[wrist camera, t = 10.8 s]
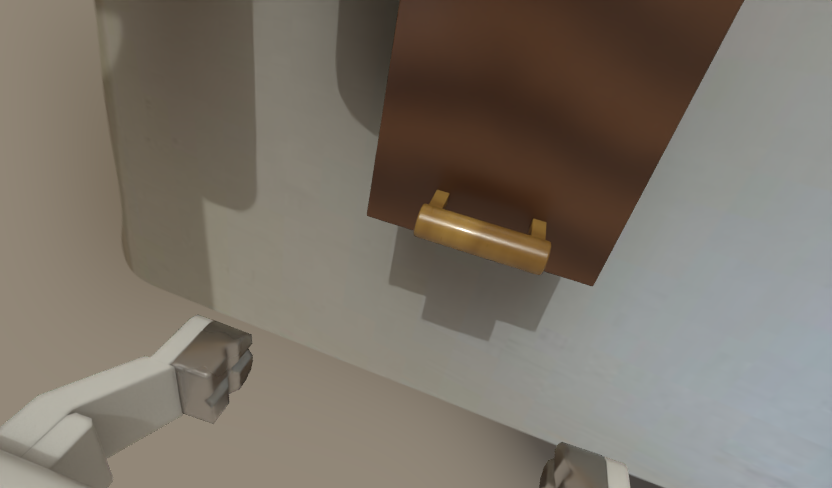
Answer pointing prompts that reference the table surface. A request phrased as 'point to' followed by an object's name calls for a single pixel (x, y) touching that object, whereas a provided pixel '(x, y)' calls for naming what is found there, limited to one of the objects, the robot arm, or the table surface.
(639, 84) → the lid
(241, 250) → the table surface
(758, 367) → the table surface
